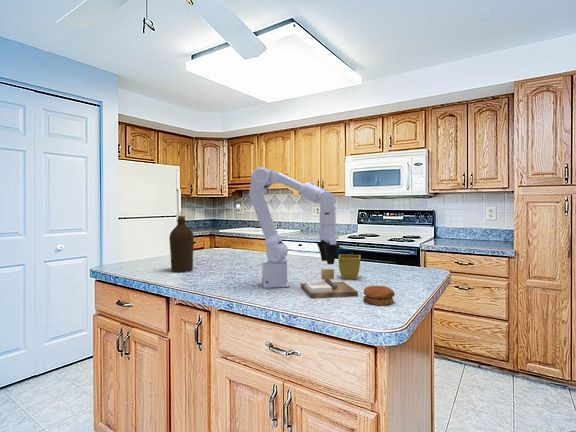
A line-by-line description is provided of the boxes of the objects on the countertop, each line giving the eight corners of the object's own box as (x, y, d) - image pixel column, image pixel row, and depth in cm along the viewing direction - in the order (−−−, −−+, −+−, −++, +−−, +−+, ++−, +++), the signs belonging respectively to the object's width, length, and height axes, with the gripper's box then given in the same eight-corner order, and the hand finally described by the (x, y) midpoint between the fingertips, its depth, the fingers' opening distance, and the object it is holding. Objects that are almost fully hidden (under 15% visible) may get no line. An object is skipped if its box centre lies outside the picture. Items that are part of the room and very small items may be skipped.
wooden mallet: (328, 289, 121) (328, 274, 121) (320, 282, 131) (320, 269, 131) (341, 288, 122) (341, 274, 121) (332, 282, 131) (332, 268, 131)
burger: (387, 308, 105) (387, 292, 105) (358, 303, 110) (358, 288, 110) (398, 300, 113) (398, 286, 113) (370, 296, 118) (370, 282, 118)
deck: (310, 298, 115) (310, 293, 115) (301, 287, 130) (301, 283, 130) (357, 296, 118) (357, 291, 118) (343, 285, 133) (343, 281, 133)
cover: (311, 292, 116) (311, 287, 116) (304, 285, 126) (304, 280, 126) (332, 291, 117) (332, 286, 117) (324, 285, 127) (324, 279, 127)
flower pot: (360, 280, 142) (360, 258, 141) (338, 279, 143) (338, 257, 143) (360, 276, 150) (360, 254, 150) (339, 275, 152) (339, 254, 152)
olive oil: (196, 268, 169) (196, 215, 168) (189, 273, 158) (189, 216, 157) (174, 268, 169) (174, 215, 168) (166, 272, 158) (165, 216, 158)
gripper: (344, 226, 123) (344, 265, 123) (332, 223, 137) (332, 258, 138) (324, 226, 122) (324, 266, 122) (314, 224, 136) (314, 259, 136)
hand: (327, 262), depth 130 cm, fingers open, 7 cm apart
